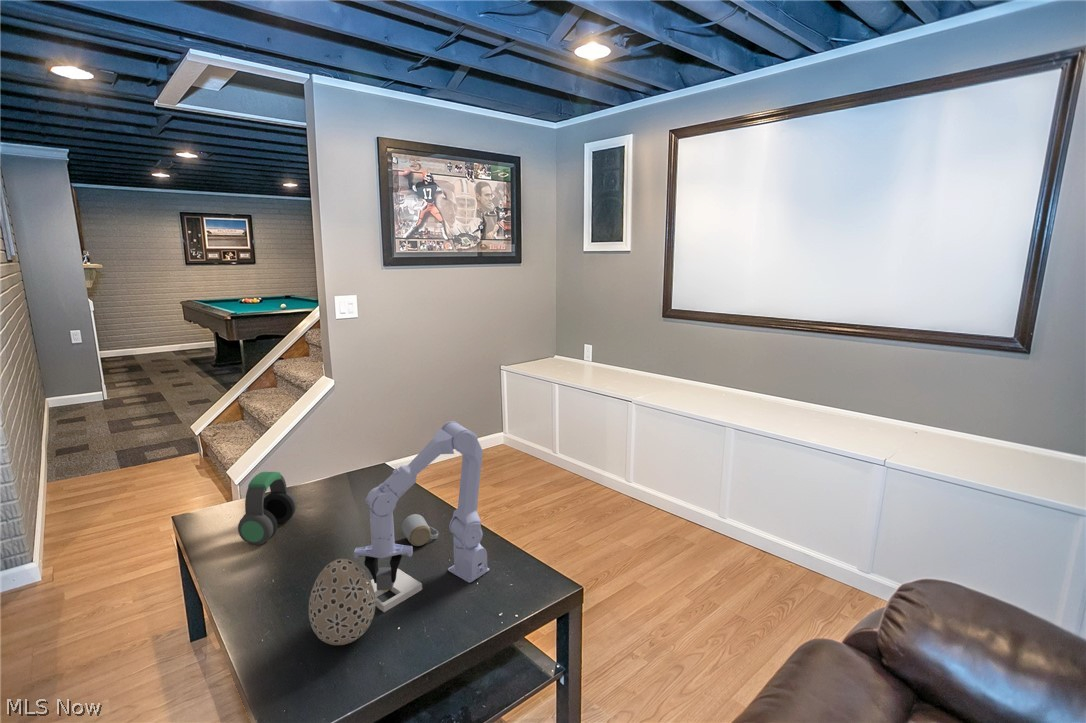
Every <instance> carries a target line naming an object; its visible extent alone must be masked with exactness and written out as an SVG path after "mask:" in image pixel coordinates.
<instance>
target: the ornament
mask: <svg viewBox="0 0 1086 723" xmlns="http://www.w3.org/2000/svg"><path fill="white" fill-rule="evenodd" d="M370 580H371V579H370V577H369V575H368V574H367V572H366V571H365V569H364V568H363V567H362V566H360V564H359V563H357V562H356V561H355V560H354V561H353V560H351V559H348V558H337V559H334V560H332V561H331V562H329V563H328V564H327V565H325V567H324V568H323V569H322V570H321V571H320V572H319V574H318V575H317V577H316V579H315V581H314V584H313V586H312V589H311V591H310V594H309V595H310V596H309V601H308V619H309V623H310V626H311V628H312V629H311V630H312V631H313V632H314V634H315V635H316V636H317V638H318V639H319V640H320V641H322V642H324V643H326V644H328V645H331V646H344V645H348V644H351V643H353V642H355V641H356V640H358V639H360V637H361V636H363V635H364V634H365V633H366V632H367V630H369V627H370V626H371V623H372V622H373V618H374V616H375V612H376V606H375V603H374V604H373V601H374V602H376V601H375V592H374V589H373V586H372V583H371V581H370ZM367 582H368V583H369V584H367ZM347 588H348V589H347ZM367 590H368V592H369V593H367ZM371 594H372V596H371Z"/></svg>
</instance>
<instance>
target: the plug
mask: <svg viewBox="0 0 1086 723" xmlns="http://www.w3.org/2000/svg"><path fill="white" fill-rule="evenodd" d="M376 583H377V590H383V592H385V593H387V592H388V591H387V590H389V591H390V590H392V588H393V585H394V583H392V572H391V566H385V567H384V566H382V567H379V566H378V572H377V575H376Z"/></svg>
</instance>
